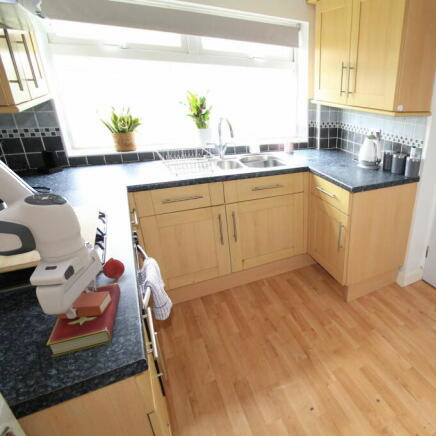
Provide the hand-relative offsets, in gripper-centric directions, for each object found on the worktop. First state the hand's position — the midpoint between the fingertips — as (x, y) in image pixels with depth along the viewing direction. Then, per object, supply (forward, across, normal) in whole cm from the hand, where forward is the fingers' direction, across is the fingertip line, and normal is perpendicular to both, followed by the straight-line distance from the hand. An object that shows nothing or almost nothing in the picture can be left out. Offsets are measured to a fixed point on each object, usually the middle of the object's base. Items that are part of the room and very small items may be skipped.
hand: (83, 304), depth 83 cm
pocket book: (+2, 0, 0) cm, 2 cm away
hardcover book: (+6, 0, 0) cm, 6 cm away
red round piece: (+6, -20, -1) cm, 21 cm away
